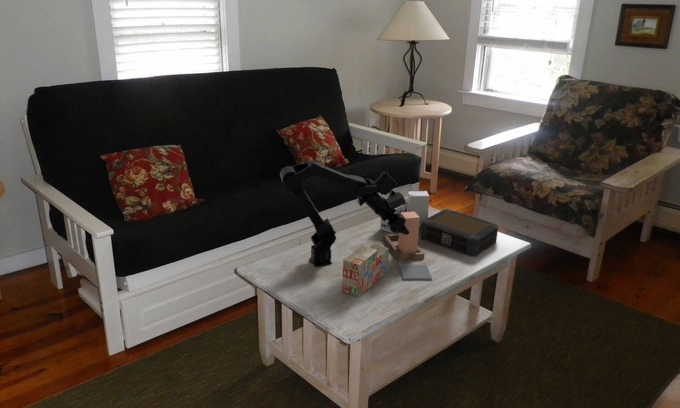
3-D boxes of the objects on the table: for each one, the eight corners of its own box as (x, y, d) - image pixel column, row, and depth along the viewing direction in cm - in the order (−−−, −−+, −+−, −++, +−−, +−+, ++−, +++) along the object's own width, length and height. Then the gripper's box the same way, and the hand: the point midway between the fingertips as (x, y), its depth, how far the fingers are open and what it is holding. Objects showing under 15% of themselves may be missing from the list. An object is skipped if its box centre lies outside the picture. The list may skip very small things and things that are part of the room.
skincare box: (424, 223, 241) (427, 190, 236) (427, 228, 236) (430, 195, 230) (405, 222, 241) (407, 190, 235) (407, 228, 235) (410, 195, 230)
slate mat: (403, 279, 195) (403, 278, 195) (399, 266, 205) (399, 264, 204) (431, 279, 196) (431, 278, 196) (426, 266, 205) (426, 264, 205)
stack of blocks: (372, 266, 204) (374, 235, 199) (388, 271, 201) (390, 240, 196) (341, 292, 187) (342, 259, 182) (358, 297, 184) (359, 264, 179)
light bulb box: (393, 233, 230) (394, 209, 226) (379, 229, 234) (380, 205, 230) (406, 225, 238) (408, 202, 234) (393, 221, 242) (394, 198, 238)
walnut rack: (399, 260, 208) (399, 256, 208) (383, 239, 225) (383, 234, 224) (424, 258, 211) (424, 253, 210) (406, 237, 227) (406, 232, 227)
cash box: (417, 239, 227) (418, 221, 224) (443, 224, 241) (445, 207, 238) (473, 259, 212) (475, 240, 209) (497, 242, 226) (500, 224, 223)
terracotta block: (402, 257, 211) (405, 218, 205) (397, 251, 216) (400, 212, 210) (416, 256, 212) (419, 217, 206) (411, 249, 217) (414, 211, 211)
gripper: (401, 196, 194) (429, 223, 200) (384, 178, 210) (410, 203, 217) (379, 219, 195) (407, 245, 201) (363, 200, 211) (389, 224, 218)
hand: (404, 228), depth 209 cm, fingers open, 9 cm apart
